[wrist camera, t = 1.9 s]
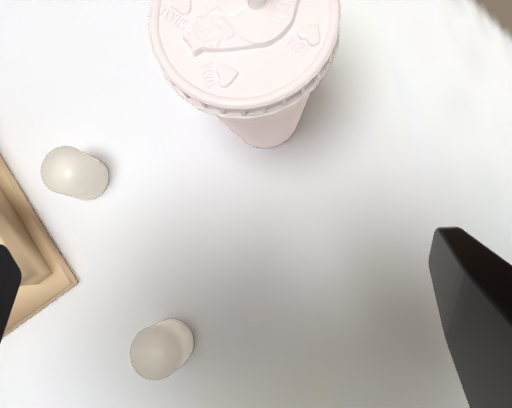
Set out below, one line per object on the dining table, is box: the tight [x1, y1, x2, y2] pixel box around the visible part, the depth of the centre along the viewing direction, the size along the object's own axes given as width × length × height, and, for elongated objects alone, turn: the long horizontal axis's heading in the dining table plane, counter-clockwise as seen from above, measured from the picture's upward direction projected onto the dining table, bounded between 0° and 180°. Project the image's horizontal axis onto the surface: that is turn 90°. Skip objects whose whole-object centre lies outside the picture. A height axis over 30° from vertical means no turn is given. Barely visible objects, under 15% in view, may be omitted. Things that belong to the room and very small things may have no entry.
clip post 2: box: [130, 319, 194, 380], centre depth 21 cm, size 2×2×2 cm
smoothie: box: [148, 0, 341, 148], centre depth 16 cm, size 6×6×14 cm
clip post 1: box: [41, 146, 109, 200], centre depth 22 cm, size 2×2×2 cm
